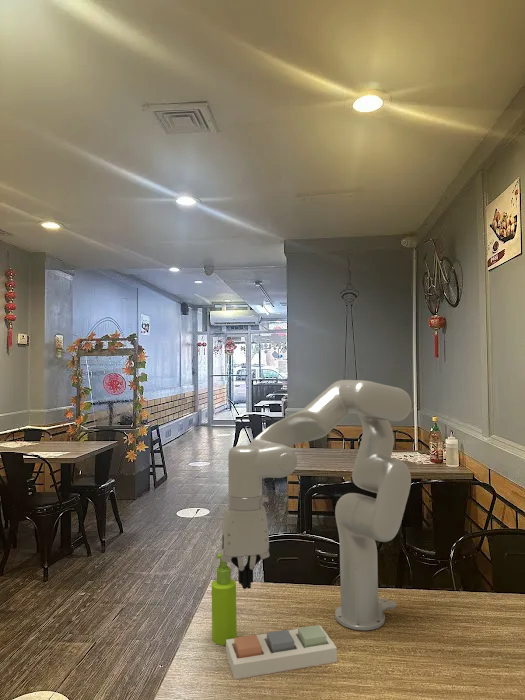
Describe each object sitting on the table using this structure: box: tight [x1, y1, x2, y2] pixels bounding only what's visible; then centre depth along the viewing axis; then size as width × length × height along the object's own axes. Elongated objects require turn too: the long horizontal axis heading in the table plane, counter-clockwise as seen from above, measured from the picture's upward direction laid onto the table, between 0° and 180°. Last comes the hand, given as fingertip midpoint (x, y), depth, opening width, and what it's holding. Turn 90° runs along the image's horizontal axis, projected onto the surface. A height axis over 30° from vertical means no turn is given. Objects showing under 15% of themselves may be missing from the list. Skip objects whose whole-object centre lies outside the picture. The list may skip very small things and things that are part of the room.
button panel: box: [225, 625, 338, 680], centre depth 111 cm, size 23×10×3 cm, turn 104°
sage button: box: [297, 624, 326, 648], centre depth 113 cm, size 5×5×2 cm
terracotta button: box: [234, 634, 262, 658], centre depth 109 cm, size 5×5×2 cm
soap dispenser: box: [211, 552, 238, 646], centre depth 120 cm, size 6×7×20 cm
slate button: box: [266, 629, 294, 653], centre depth 111 cm, size 5×5×2 cm
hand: (245, 586), depth 110 cm, fingers closed
